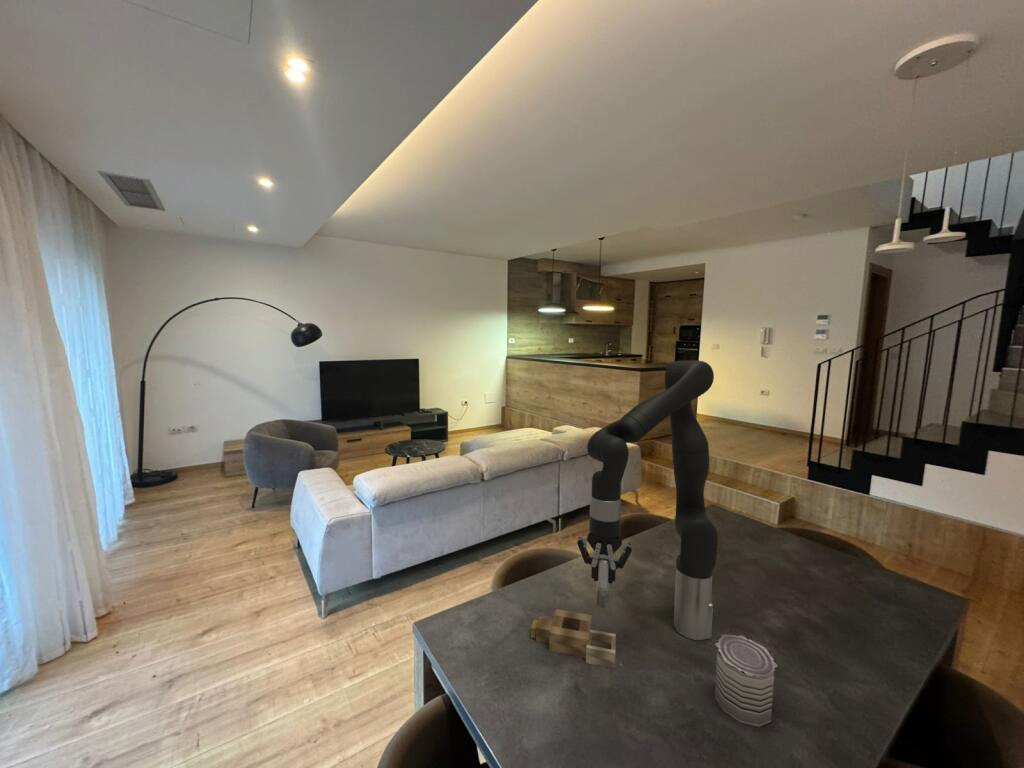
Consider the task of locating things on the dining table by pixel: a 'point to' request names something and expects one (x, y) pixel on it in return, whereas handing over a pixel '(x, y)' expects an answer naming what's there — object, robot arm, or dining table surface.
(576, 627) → the socket block
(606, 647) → the frame
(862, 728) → the dining table surface
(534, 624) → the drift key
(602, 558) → the rod
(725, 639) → the can
